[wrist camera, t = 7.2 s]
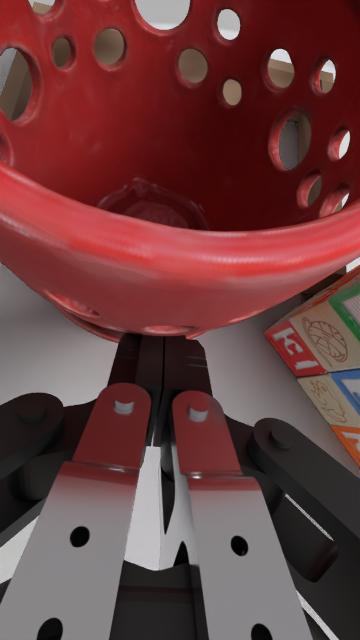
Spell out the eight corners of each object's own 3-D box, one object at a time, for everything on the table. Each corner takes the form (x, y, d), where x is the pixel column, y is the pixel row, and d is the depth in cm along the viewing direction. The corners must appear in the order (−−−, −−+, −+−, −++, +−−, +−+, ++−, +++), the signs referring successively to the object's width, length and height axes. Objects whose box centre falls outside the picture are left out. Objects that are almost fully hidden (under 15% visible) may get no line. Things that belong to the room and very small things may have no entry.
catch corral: (-10, 247, 16) (-41, 213, 13) (48, 58, 20) (34, 1, 17) (313, 295, 18) (346, 275, 15) (307, 116, 22) (332, 73, 19)
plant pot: (80, 409, 15) (-116, 429, 3) (5, 189, 17) (-254, -239, 6) (298, 317, 18) (599, 158, 6) (207, 142, 20) (302, -199, 9)
